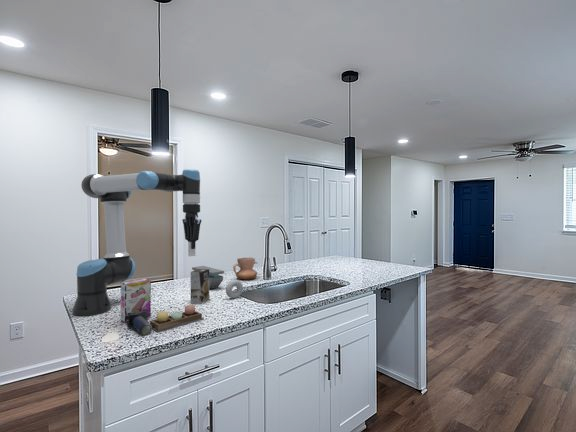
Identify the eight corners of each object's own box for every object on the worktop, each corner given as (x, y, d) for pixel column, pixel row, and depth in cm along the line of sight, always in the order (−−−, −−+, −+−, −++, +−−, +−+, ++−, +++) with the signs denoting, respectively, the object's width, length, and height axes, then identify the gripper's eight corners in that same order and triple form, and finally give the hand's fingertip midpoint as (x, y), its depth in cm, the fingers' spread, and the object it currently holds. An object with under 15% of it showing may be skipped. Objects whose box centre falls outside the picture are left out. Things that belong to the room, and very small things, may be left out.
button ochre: (155, 319, 125) (155, 313, 125) (165, 317, 128) (165, 310, 128) (159, 322, 123) (159, 315, 123) (170, 319, 126) (170, 313, 126)
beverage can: (127, 332, 124) (138, 342, 116) (123, 314, 123) (134, 323, 114) (150, 322, 130) (162, 331, 122) (146, 305, 129) (158, 313, 120)
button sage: (169, 320, 130) (169, 314, 130) (179, 317, 133) (179, 311, 133) (174, 322, 127) (174, 316, 127) (183, 320, 130) (183, 313, 130)
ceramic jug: (254, 275, 226) (253, 256, 225) (262, 279, 213) (261, 258, 213) (230, 278, 217) (229, 258, 217) (236, 282, 204) (236, 261, 204)
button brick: (183, 312, 134) (182, 306, 134) (191, 310, 137) (191, 304, 137) (187, 314, 131) (187, 308, 131) (196, 312, 134) (196, 306, 134)
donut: (227, 300, 162) (227, 281, 162) (224, 299, 165) (224, 280, 165) (244, 297, 169) (244, 278, 168) (240, 296, 171) (240, 277, 171)
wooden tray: (148, 326, 126) (148, 320, 126) (193, 314, 140) (193, 309, 140) (157, 332, 120) (157, 326, 120) (203, 319, 134) (203, 313, 134)
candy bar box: (125, 323, 130) (125, 284, 129) (120, 321, 133) (119, 282, 132) (151, 316, 138) (151, 279, 138) (146, 314, 141) (145, 278, 141)
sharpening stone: (224, 289, 187) (224, 270, 187) (212, 291, 181) (212, 272, 181) (203, 282, 205) (203, 265, 205) (192, 284, 199) (192, 267, 199)
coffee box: (201, 304, 156) (201, 272, 156) (190, 303, 158) (189, 271, 157) (210, 299, 165) (209, 268, 165) (198, 298, 167) (198, 268, 166)
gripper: (206, 203, 139) (207, 256, 139) (191, 204, 148) (192, 253, 148) (191, 203, 134) (191, 258, 134) (176, 204, 143) (177, 255, 143)
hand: (191, 255), depth 141 cm, fingers closed
